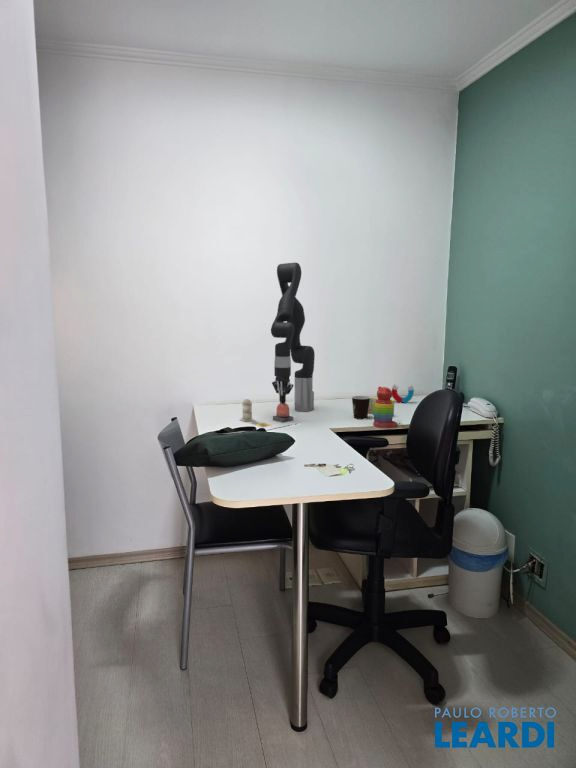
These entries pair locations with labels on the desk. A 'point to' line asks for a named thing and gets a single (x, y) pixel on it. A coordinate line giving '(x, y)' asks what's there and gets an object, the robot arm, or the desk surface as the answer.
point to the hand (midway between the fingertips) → (282, 402)
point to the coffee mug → (360, 406)
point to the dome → (282, 410)
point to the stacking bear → (384, 409)
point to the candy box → (371, 405)
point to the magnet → (402, 399)
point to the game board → (275, 418)
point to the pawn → (247, 411)
